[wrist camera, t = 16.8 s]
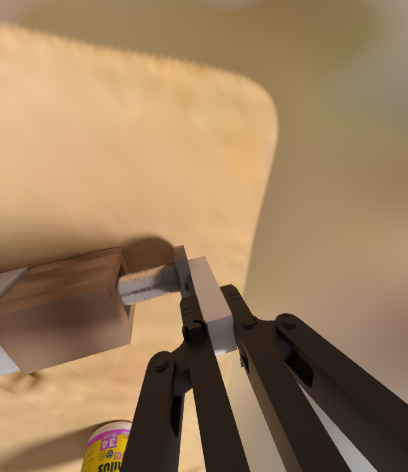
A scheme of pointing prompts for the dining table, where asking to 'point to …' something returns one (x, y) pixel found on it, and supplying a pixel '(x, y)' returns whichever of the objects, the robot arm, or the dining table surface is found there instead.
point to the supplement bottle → (106, 448)
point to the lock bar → (157, 280)
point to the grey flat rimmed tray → (3, 284)
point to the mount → (66, 311)
